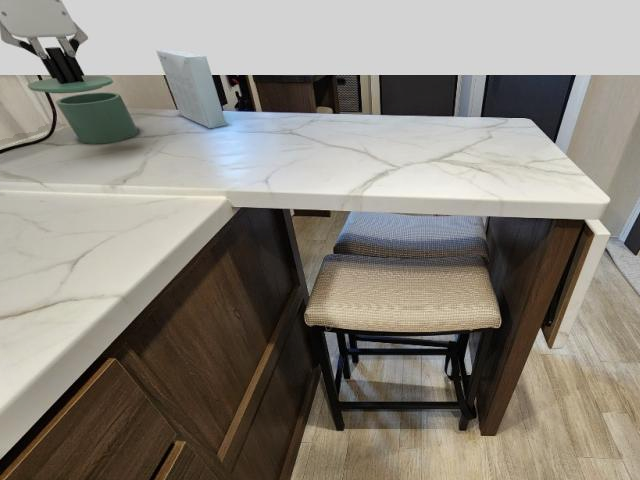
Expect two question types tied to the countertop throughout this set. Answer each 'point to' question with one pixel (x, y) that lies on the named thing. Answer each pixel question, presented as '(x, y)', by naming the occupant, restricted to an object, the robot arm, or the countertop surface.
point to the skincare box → (192, 87)
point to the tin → (98, 117)
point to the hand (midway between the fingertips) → (70, 80)
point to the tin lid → (67, 77)
